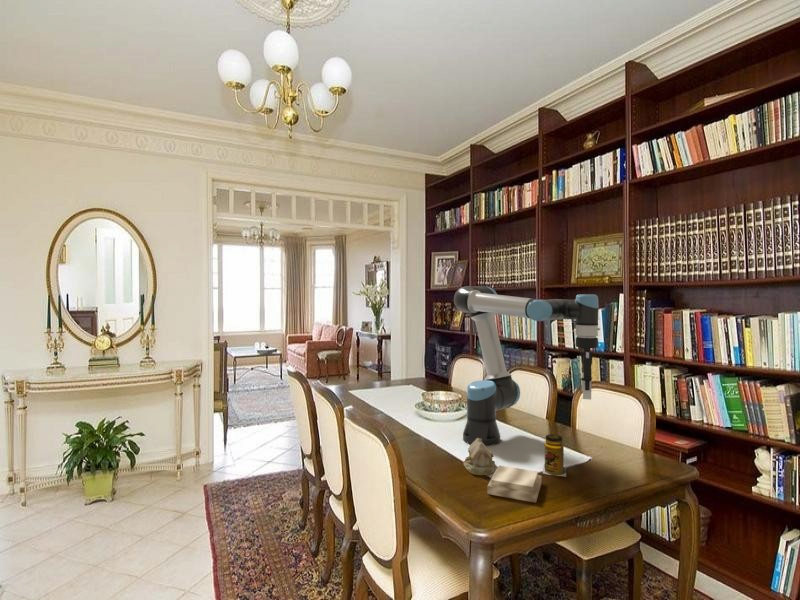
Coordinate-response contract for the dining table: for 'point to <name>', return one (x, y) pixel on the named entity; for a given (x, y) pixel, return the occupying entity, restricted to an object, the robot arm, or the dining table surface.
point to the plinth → (515, 492)
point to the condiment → (554, 456)
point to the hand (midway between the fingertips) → (586, 394)
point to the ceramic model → (479, 459)
